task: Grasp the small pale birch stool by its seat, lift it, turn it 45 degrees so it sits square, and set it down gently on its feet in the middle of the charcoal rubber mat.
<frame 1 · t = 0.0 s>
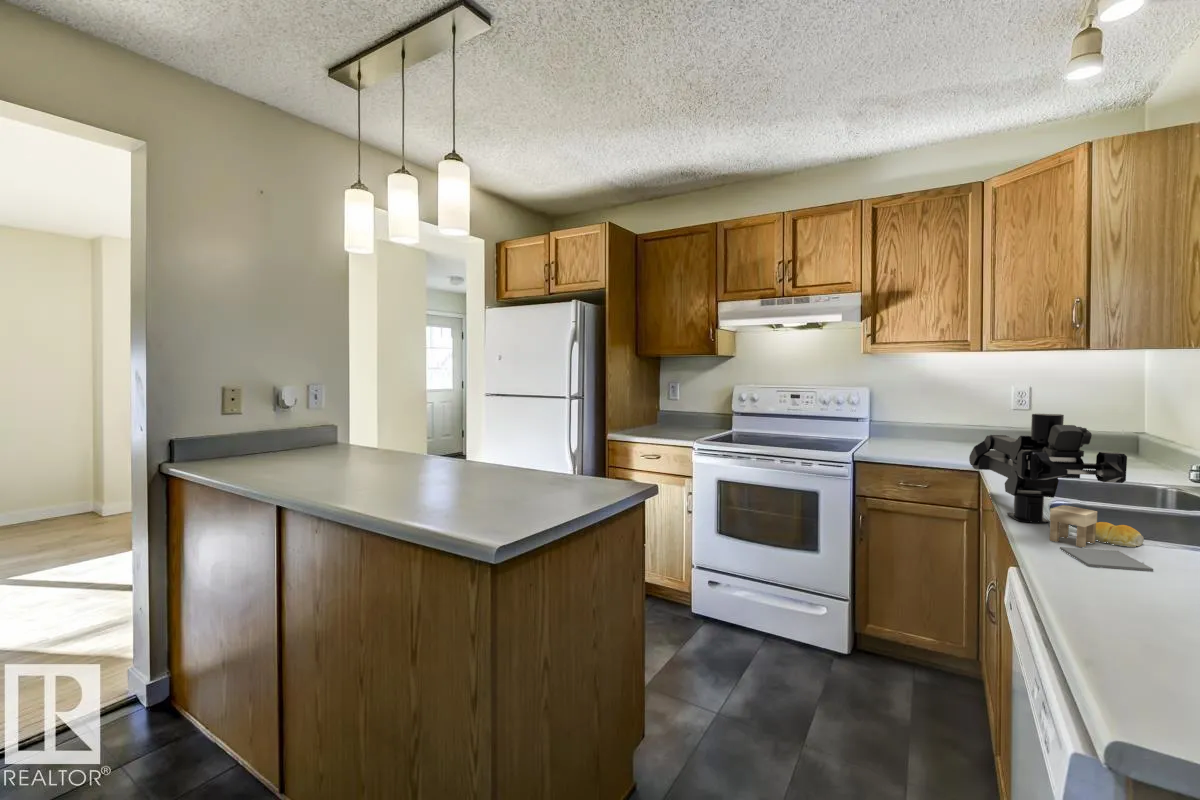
hand: (1093, 473, 109), 17 cm above the countertop, tool horizontal, fingers open, 9 cm apart
stool: (1072, 541, 118), on the countertop
bread roll: (1113, 542, 118), on the countertop
mat: (1103, 559, 107), on the countertop
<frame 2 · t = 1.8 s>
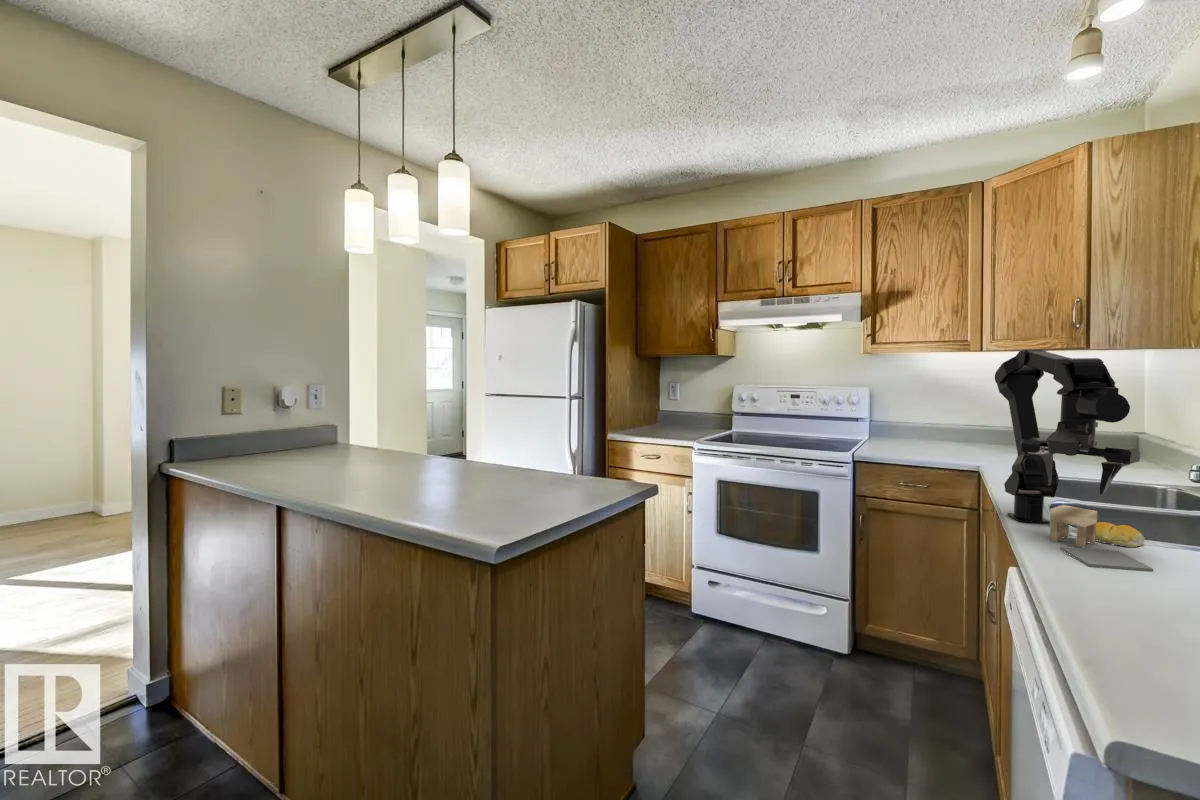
hand: (1074, 489, 117), 11 cm above the countertop, tool pointing down, fingers open, 9 cm apart
nothing on the countertop moved.
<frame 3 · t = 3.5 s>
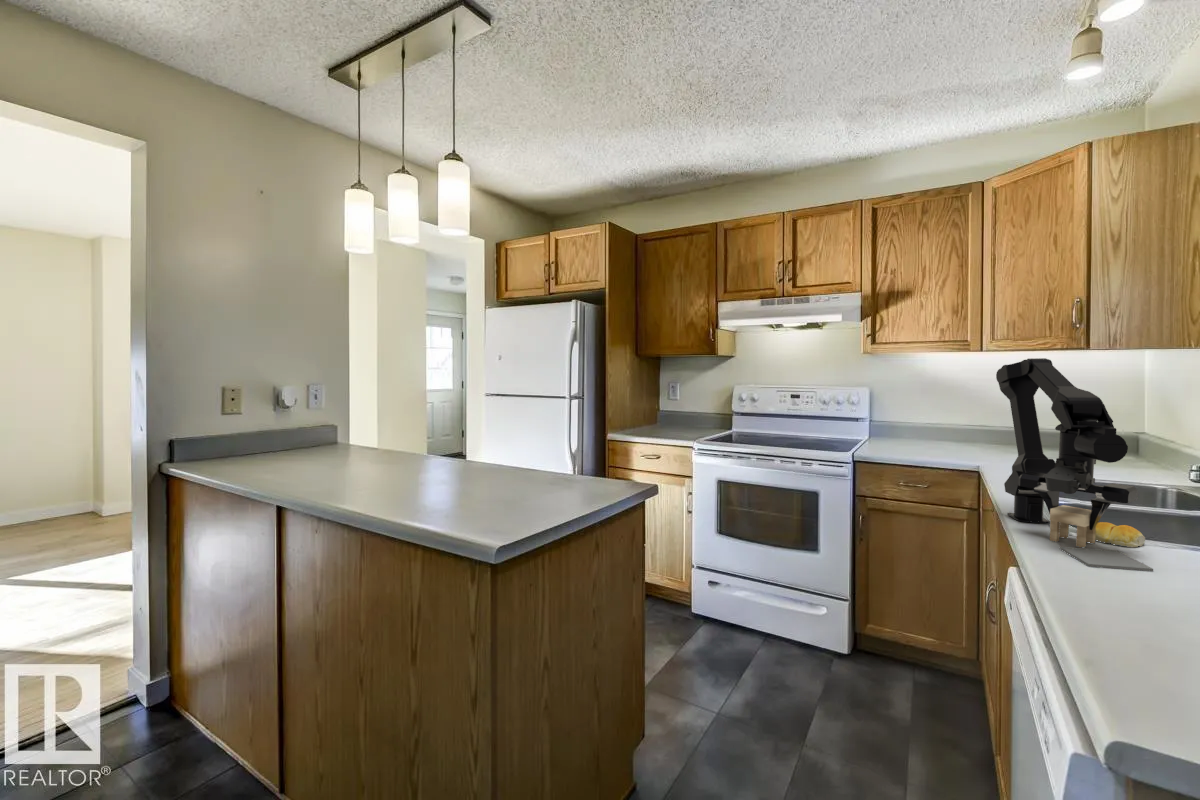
hand: (1072, 525, 118), 4 cm above the countertop, tool pointing down, fingers closed on stool, 6 cm apart
stool: (1072, 541, 118), on the countertop, touching gripper
everything else where it was.
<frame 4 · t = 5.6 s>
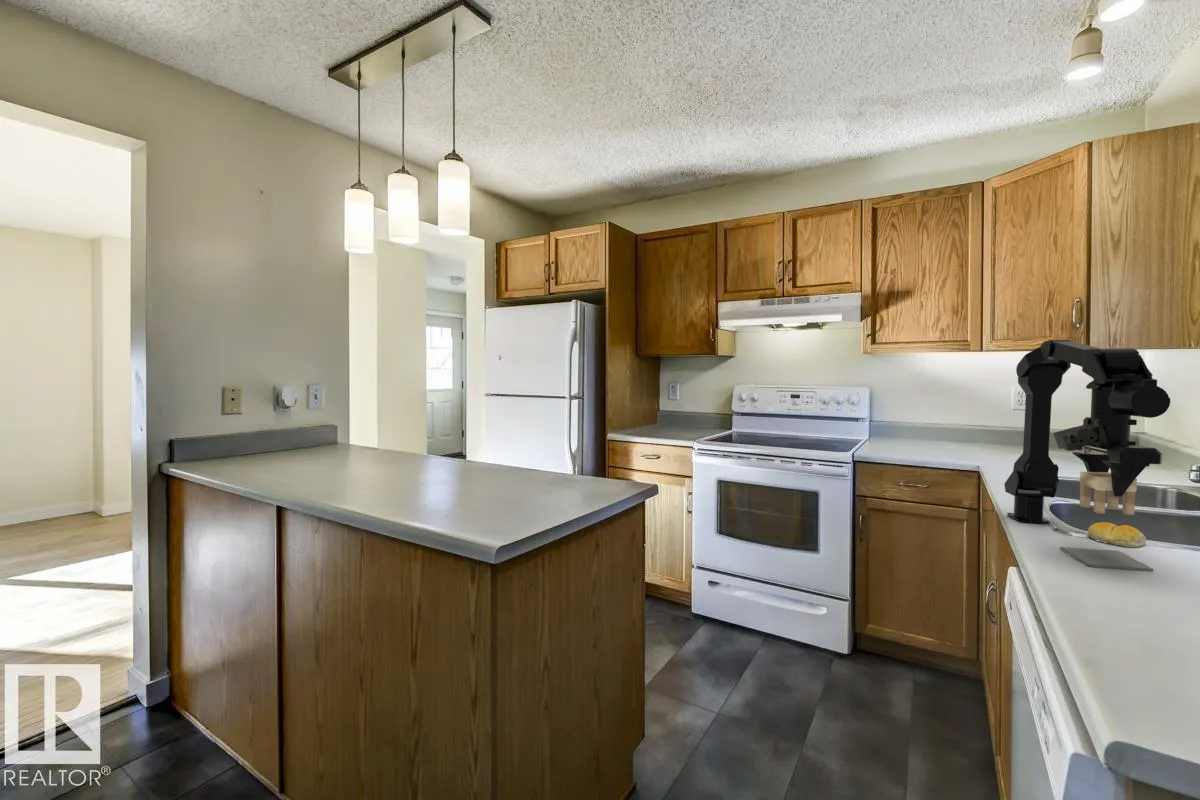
hand: (1106, 492, 106), 13 cm above the countertop, tool pointing down, fingers closed on stool, 6 cm apart
stool: (1105, 510, 107), point 10 cm above the countertop, touching gripper
everything else where it was.
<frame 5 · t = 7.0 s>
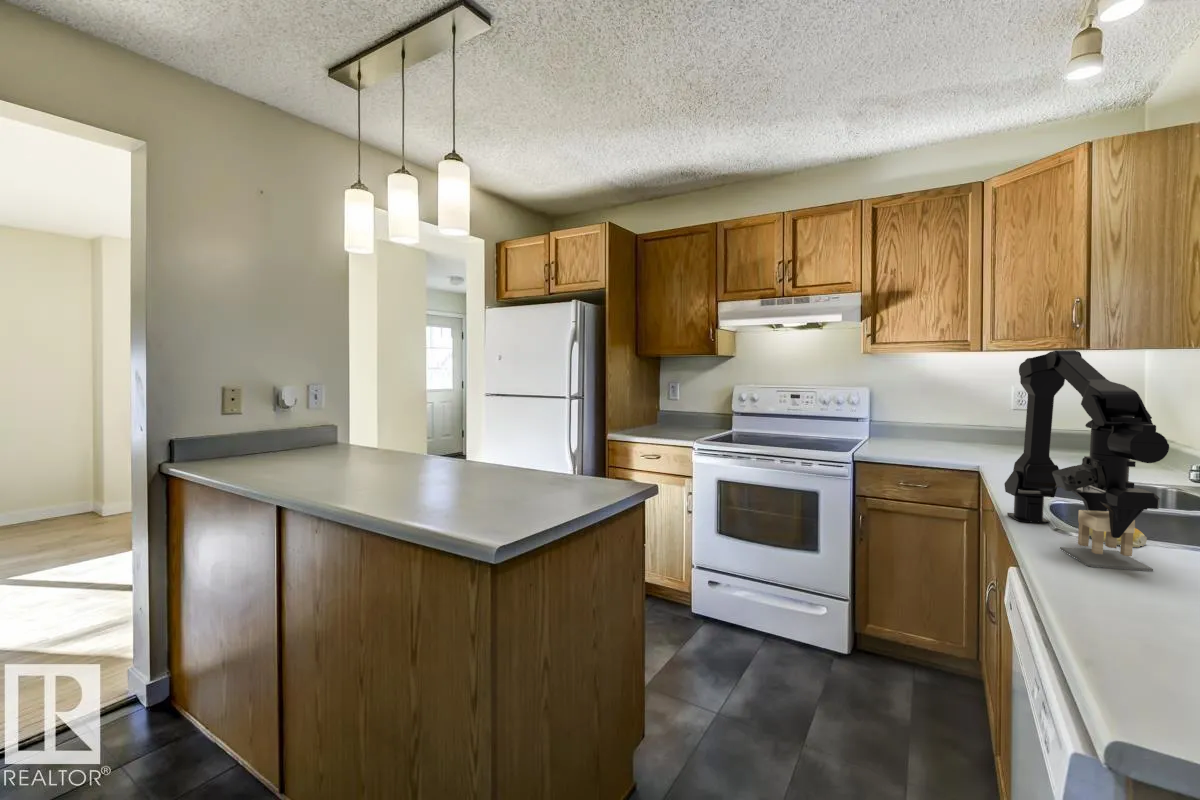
hand: (1105, 532, 107), 5 cm above the countertop, tool pointing down, fingers closed on stool, 6 cm apart
stool: (1104, 549, 107), point 2 cm above the countertop, touching gripper
everything else where it was.
when the fingers open (5 cm above the countertop, at t = 8.0 s): stool stays where it is, resting on mat.
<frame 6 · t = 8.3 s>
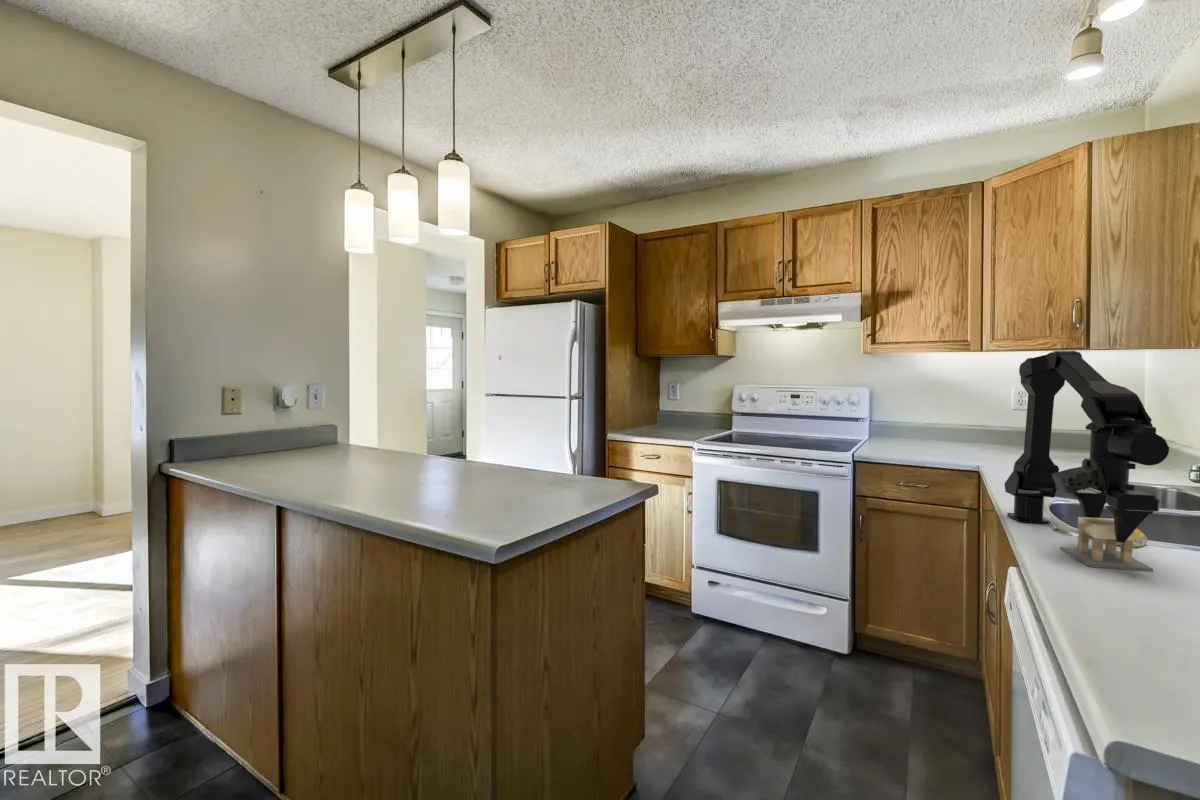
hand: (1105, 534, 107), 5 cm above the countertop, tool pointing down, fingers open, 9 cm apart
stool: (1103, 556, 107), resting on mat
everything else where it was.
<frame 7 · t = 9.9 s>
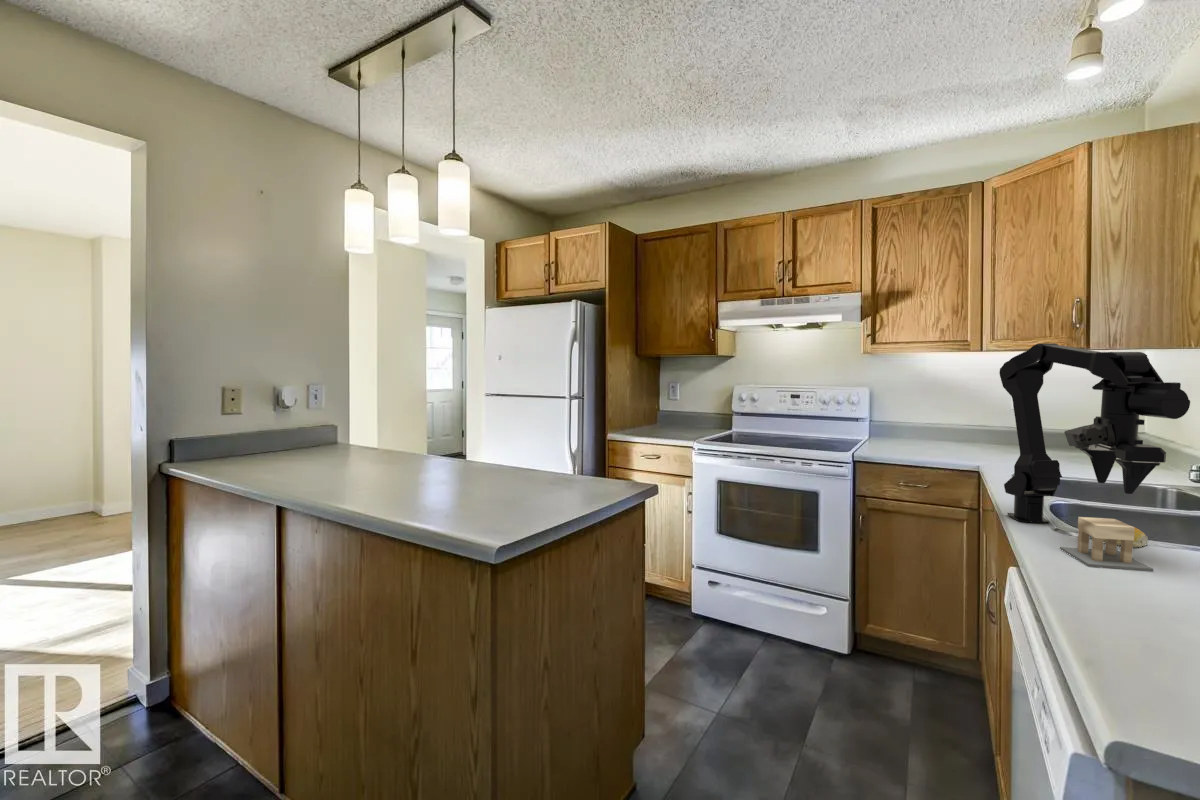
hand: (1114, 488, 113), 13 cm above the countertop, tool pointing down, fingers open, 9 cm apart
nothing on the countertop moved.
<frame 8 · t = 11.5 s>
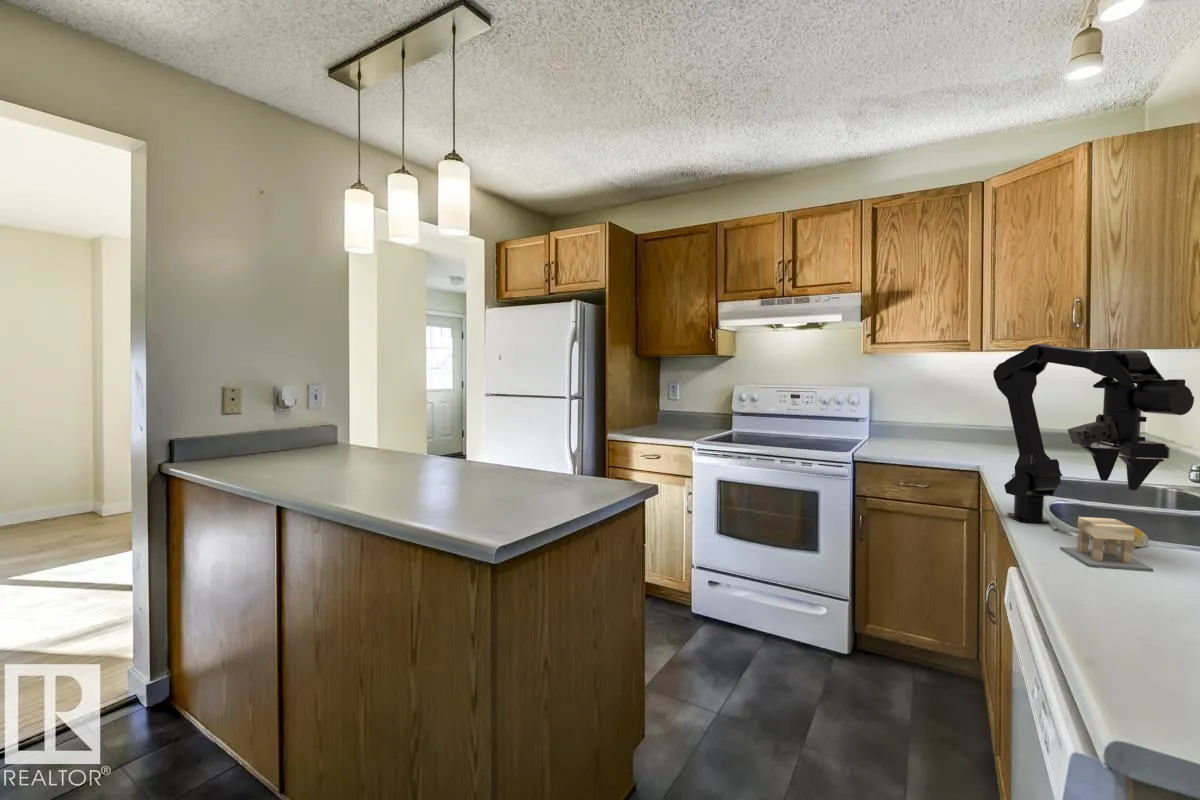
hand: (1117, 485, 114), 13 cm above the countertop, tool pointing down, fingers open, 9 cm apart
nothing on the countertop moved.
at the end: stool 0.1 cm off-centre on the mat, point 0.5 cm above the mat's base; stool tilted 0°; the gripper is holding nothing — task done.
